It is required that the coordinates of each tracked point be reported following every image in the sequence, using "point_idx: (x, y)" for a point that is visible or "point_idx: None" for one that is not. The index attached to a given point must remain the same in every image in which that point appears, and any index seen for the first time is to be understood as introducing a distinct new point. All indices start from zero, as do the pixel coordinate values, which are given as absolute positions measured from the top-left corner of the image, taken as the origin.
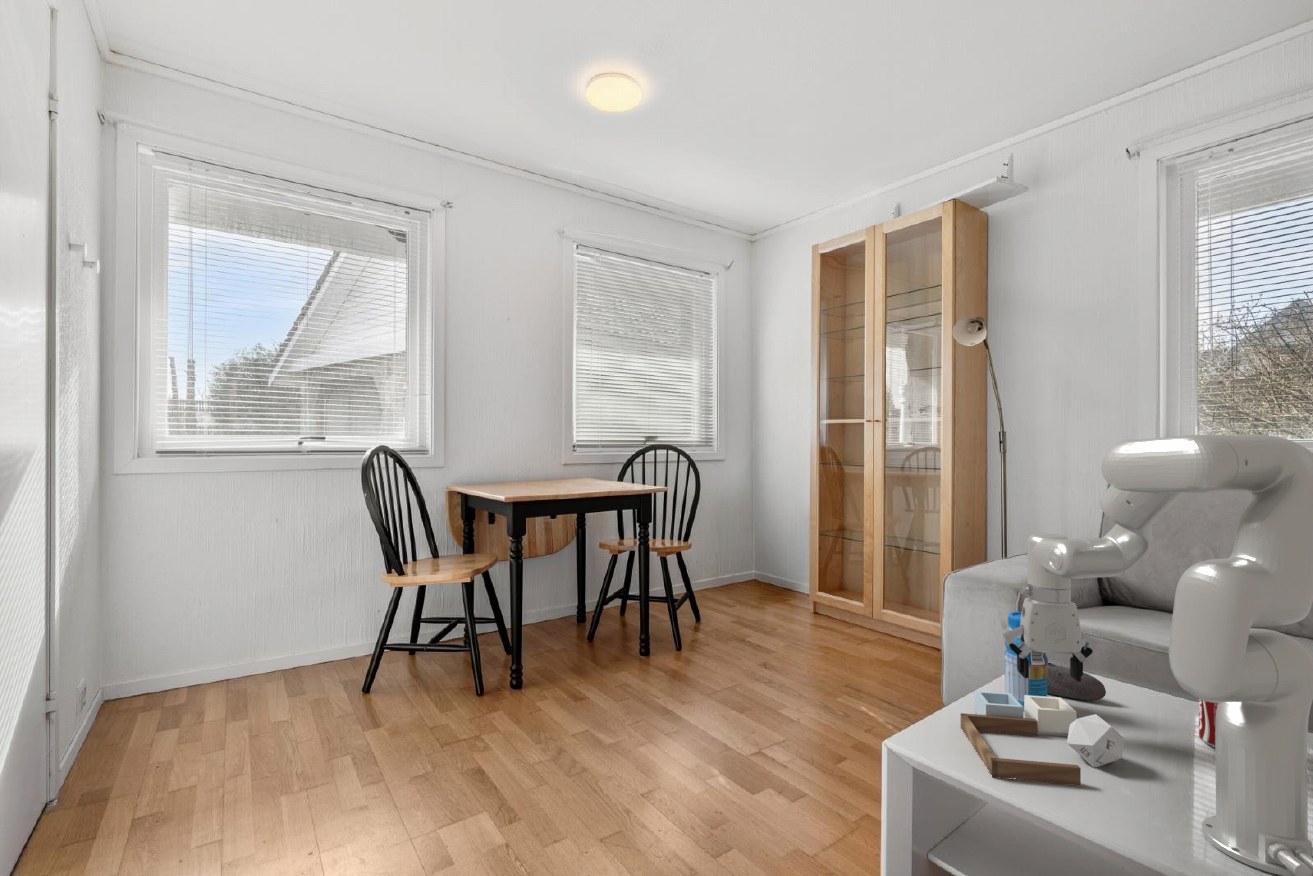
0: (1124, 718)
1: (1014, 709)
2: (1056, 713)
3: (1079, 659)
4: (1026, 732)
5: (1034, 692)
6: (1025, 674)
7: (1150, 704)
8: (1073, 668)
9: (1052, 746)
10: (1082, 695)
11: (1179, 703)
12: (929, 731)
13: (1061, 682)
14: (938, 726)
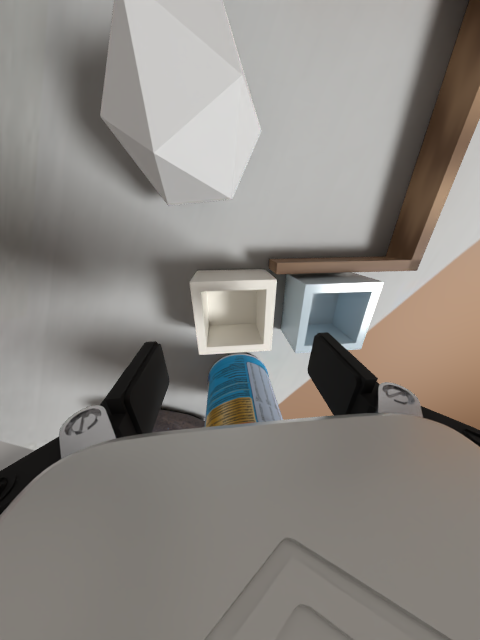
0: (94, 364)
1: (321, 282)
2: (235, 278)
3: (103, 417)
4: (289, 259)
5: (238, 376)
6: (332, 338)
7: (46, 418)
8: (153, 390)
9: (259, 216)
10: None
11: (2, 430)
12: (456, 238)
13: (169, 430)
14: (425, 264)
